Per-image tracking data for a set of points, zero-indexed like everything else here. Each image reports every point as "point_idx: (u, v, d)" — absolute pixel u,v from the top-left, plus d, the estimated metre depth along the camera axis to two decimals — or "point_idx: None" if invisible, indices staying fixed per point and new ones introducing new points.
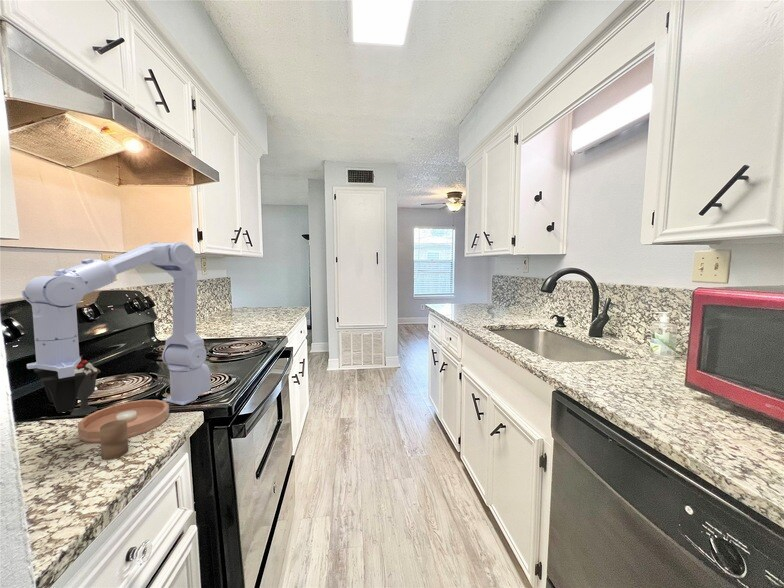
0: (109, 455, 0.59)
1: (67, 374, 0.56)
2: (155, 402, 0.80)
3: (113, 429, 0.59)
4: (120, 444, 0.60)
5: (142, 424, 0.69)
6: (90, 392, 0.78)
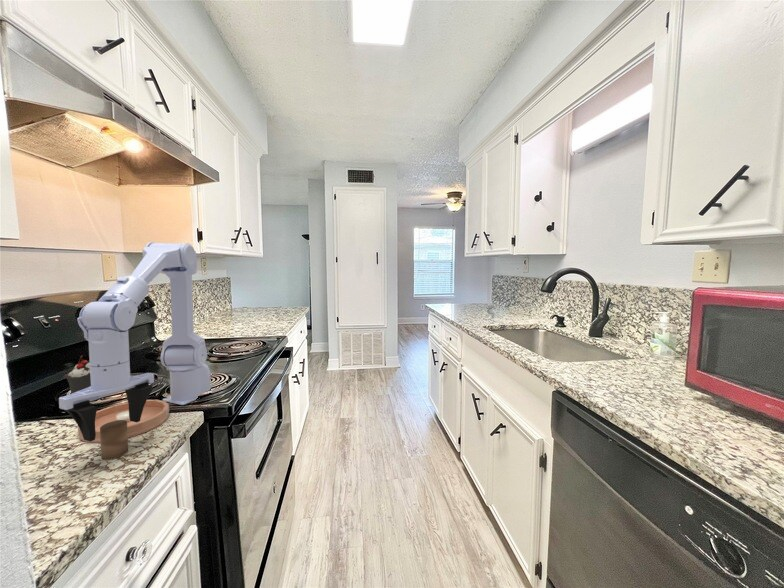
0: (109, 455, 0.59)
1: (62, 406, 0.53)
2: (155, 402, 0.80)
3: (113, 429, 0.59)
4: (120, 444, 0.60)
5: (142, 424, 0.69)
6: None
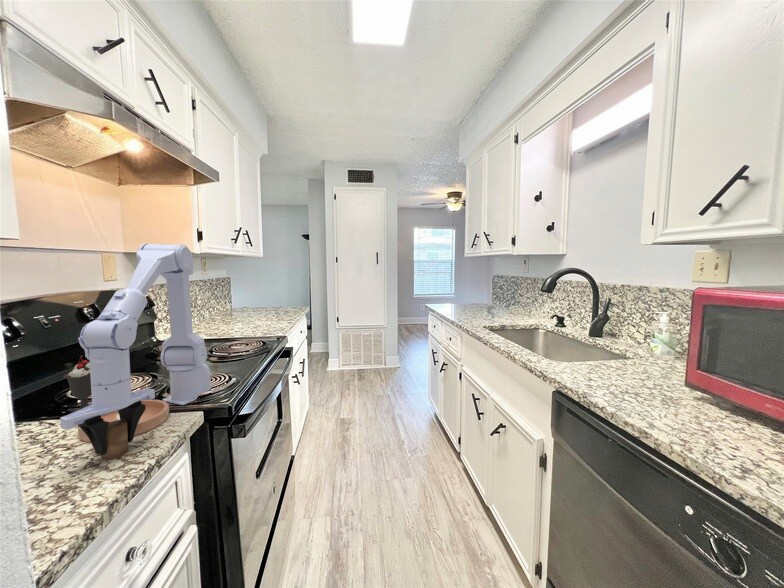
0: (109, 455, 0.59)
1: (64, 426, 0.54)
2: (155, 402, 0.80)
3: (113, 429, 0.59)
4: (120, 444, 0.60)
5: (142, 424, 0.69)
6: (90, 392, 0.78)
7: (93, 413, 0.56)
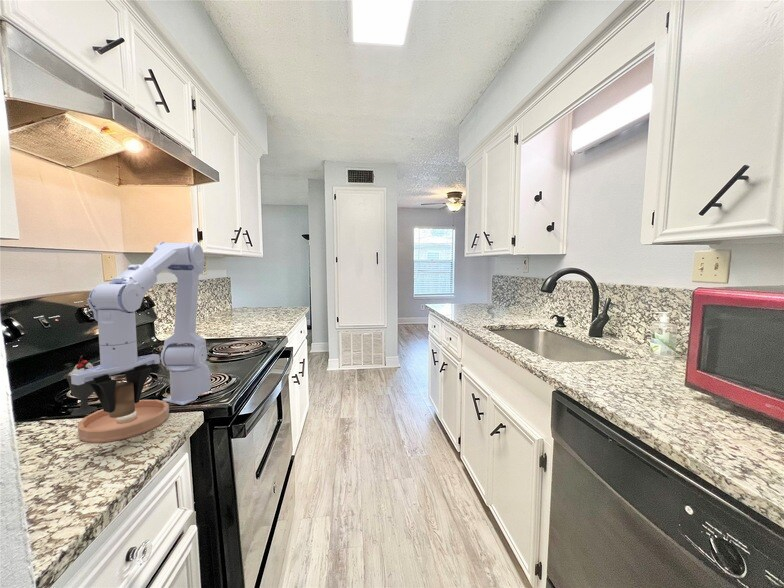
0: (117, 413, 0.62)
1: (74, 382, 0.56)
2: (155, 402, 0.80)
3: (120, 388, 0.62)
4: (127, 403, 0.63)
5: (142, 424, 0.69)
6: (90, 392, 0.78)
7: (102, 371, 0.59)
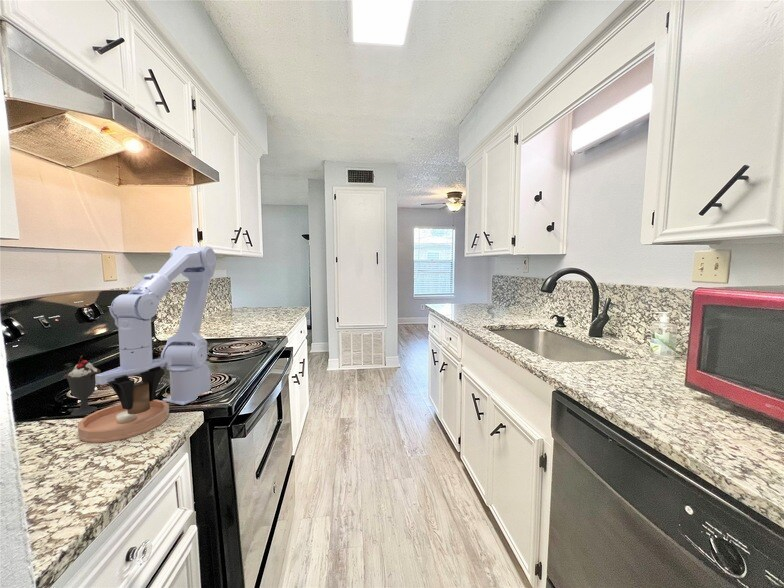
0: (134, 410, 0.69)
1: (98, 381, 0.63)
2: (155, 402, 0.80)
3: (137, 387, 0.69)
4: (143, 401, 0.70)
5: (142, 424, 0.69)
6: (90, 392, 0.78)
7: (122, 372, 0.66)
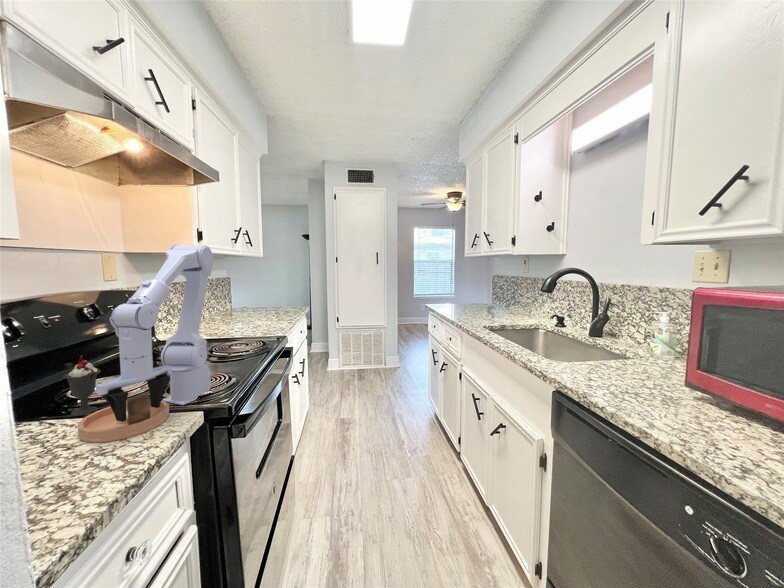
0: None
1: (99, 392, 0.64)
2: None
3: (138, 401, 0.69)
4: (144, 415, 0.70)
5: (142, 424, 0.69)
6: (90, 392, 0.78)
7: (122, 382, 0.66)
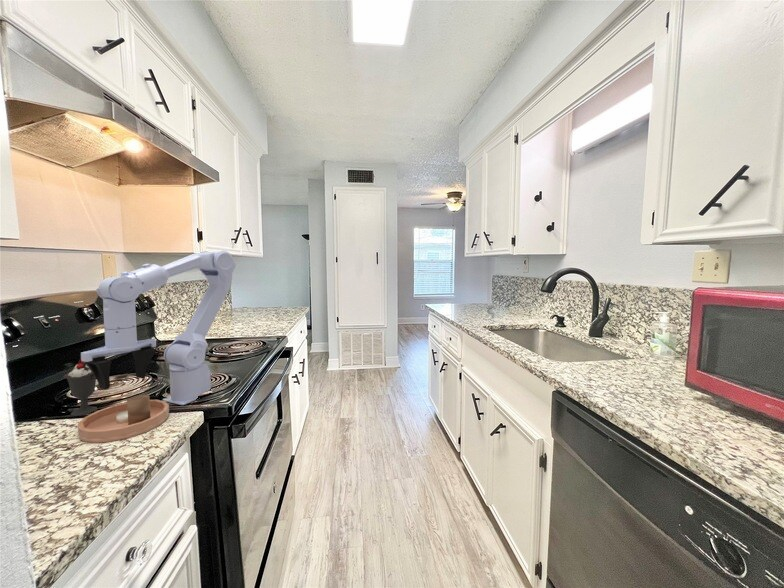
0: None
1: (84, 359, 0.67)
2: (155, 402, 0.80)
3: (138, 401, 0.69)
4: (144, 415, 0.70)
5: (142, 424, 0.69)
6: (90, 392, 0.78)
7: (107, 351, 0.69)
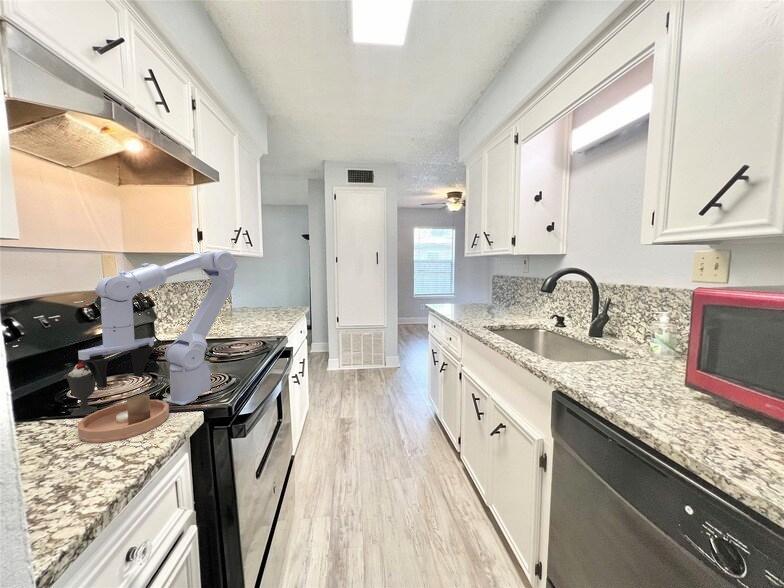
0: None
1: (81, 357, 0.67)
2: (155, 402, 0.80)
3: (138, 401, 0.69)
4: (144, 415, 0.70)
5: (142, 424, 0.69)
6: (90, 392, 0.78)
7: (104, 349, 0.70)
